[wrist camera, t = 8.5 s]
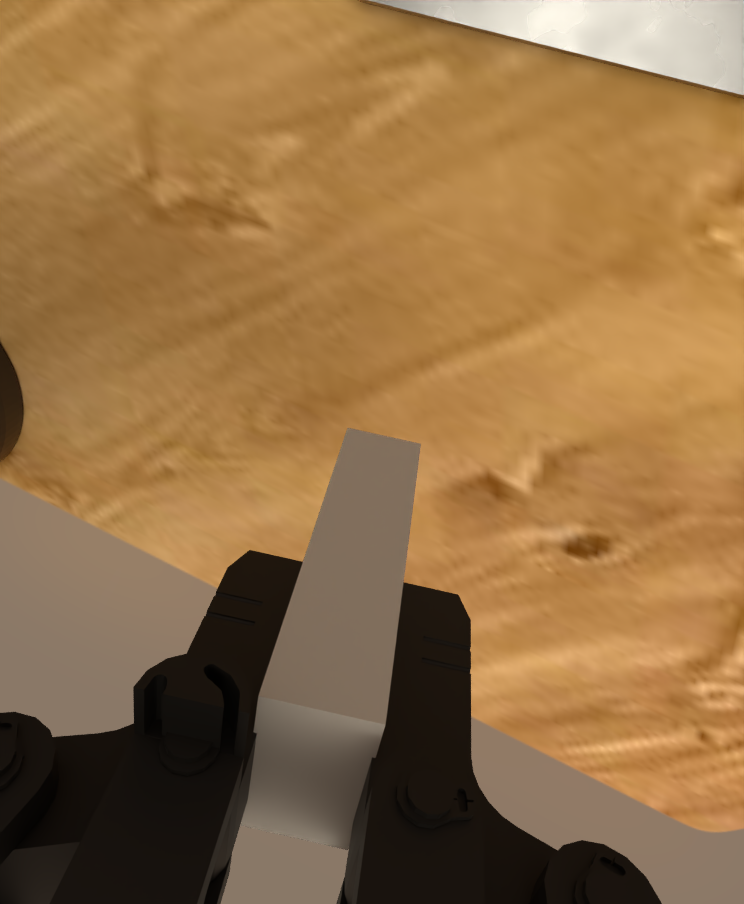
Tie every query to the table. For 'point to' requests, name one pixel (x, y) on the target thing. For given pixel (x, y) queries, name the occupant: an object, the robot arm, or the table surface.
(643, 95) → the table surface
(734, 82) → the panel
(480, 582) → the table surface
